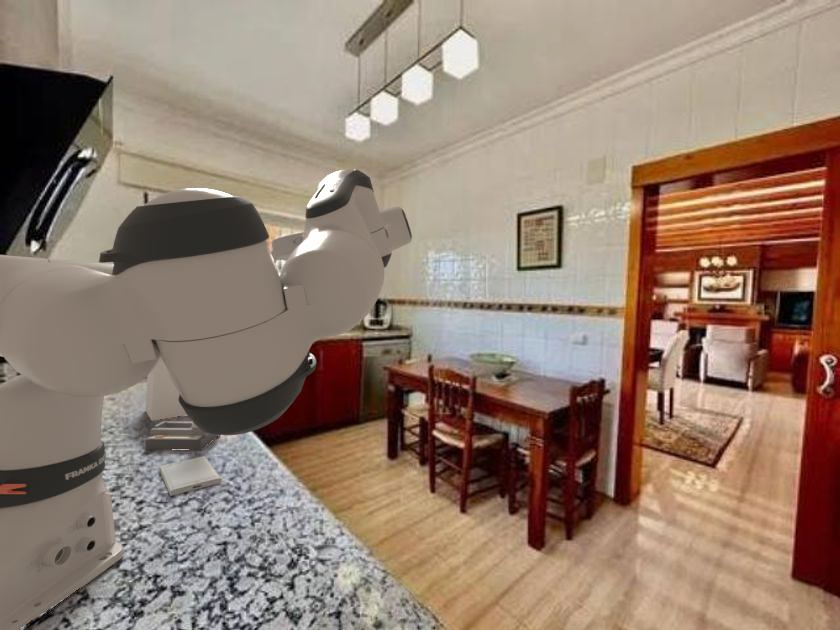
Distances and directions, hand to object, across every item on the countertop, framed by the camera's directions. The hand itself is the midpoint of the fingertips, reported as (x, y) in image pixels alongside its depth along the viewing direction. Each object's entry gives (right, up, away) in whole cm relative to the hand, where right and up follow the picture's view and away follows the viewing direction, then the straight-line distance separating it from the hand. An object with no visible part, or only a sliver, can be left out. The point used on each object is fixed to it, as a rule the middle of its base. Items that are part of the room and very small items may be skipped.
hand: (278, 264), depth 83 cm
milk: (-43, -40, +31) cm, 66 cm away
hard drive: (-14, -43, -9) cm, 46 cm away
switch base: (-25, -41, +8) cm, 49 cm away
